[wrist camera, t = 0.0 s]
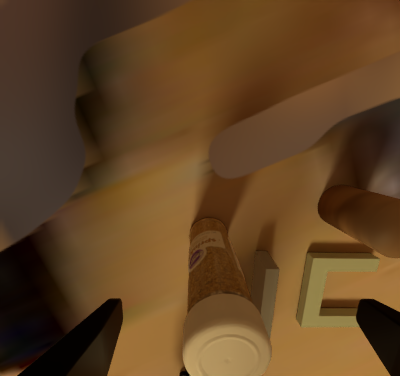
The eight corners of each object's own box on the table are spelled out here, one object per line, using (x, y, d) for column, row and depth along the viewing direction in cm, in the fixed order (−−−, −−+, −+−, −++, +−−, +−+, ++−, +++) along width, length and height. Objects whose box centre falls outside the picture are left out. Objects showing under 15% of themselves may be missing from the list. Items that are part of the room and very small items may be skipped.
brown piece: (353, 224, 23) (422, 258, 16) (314, 223, 22) (367, 257, 16) (362, 185, 22) (440, 203, 15) (321, 184, 21) (381, 202, 15)
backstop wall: (258, 325, 25) (268, 352, 22) (247, 325, 25) (256, 353, 22) (266, 250, 23) (279, 269, 20) (255, 250, 23) (266, 269, 20)
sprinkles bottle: (199, 210, 22) (206, 310, 9) (234, 225, 22) (292, 341, 9) (182, 243, 22) (166, 381, 9) (217, 257, 23) (247, 406, 10)
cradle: (354, 318, 26) (362, 327, 24) (296, 318, 25) (301, 327, 24) (370, 253, 23) (380, 259, 22) (307, 252, 23) (313, 258, 22)
